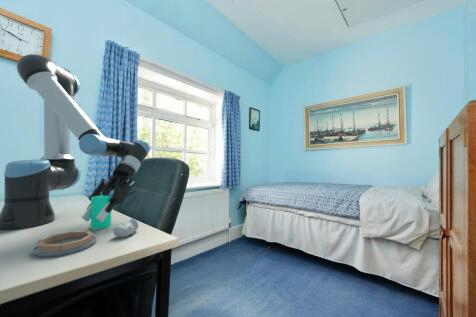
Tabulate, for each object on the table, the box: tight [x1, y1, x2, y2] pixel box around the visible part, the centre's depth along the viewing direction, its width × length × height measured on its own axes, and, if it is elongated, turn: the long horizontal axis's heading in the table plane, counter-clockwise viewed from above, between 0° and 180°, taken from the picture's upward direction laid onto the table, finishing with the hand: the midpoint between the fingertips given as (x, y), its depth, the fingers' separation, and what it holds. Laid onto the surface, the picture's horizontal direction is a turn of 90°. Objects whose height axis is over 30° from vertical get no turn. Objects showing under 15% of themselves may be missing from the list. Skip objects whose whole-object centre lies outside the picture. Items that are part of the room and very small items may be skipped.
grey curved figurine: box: [112, 218, 139, 238], centre depth 65 cm, size 4×8×5 cm
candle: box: [90, 192, 112, 230], centre depth 73 cm, size 6×6×12 cm
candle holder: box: [32, 230, 97, 258], centre depth 56 cm, size 13×13×2 cm
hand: (92, 219), depth 70 cm, fingers closed on candle, 5 cm apart
